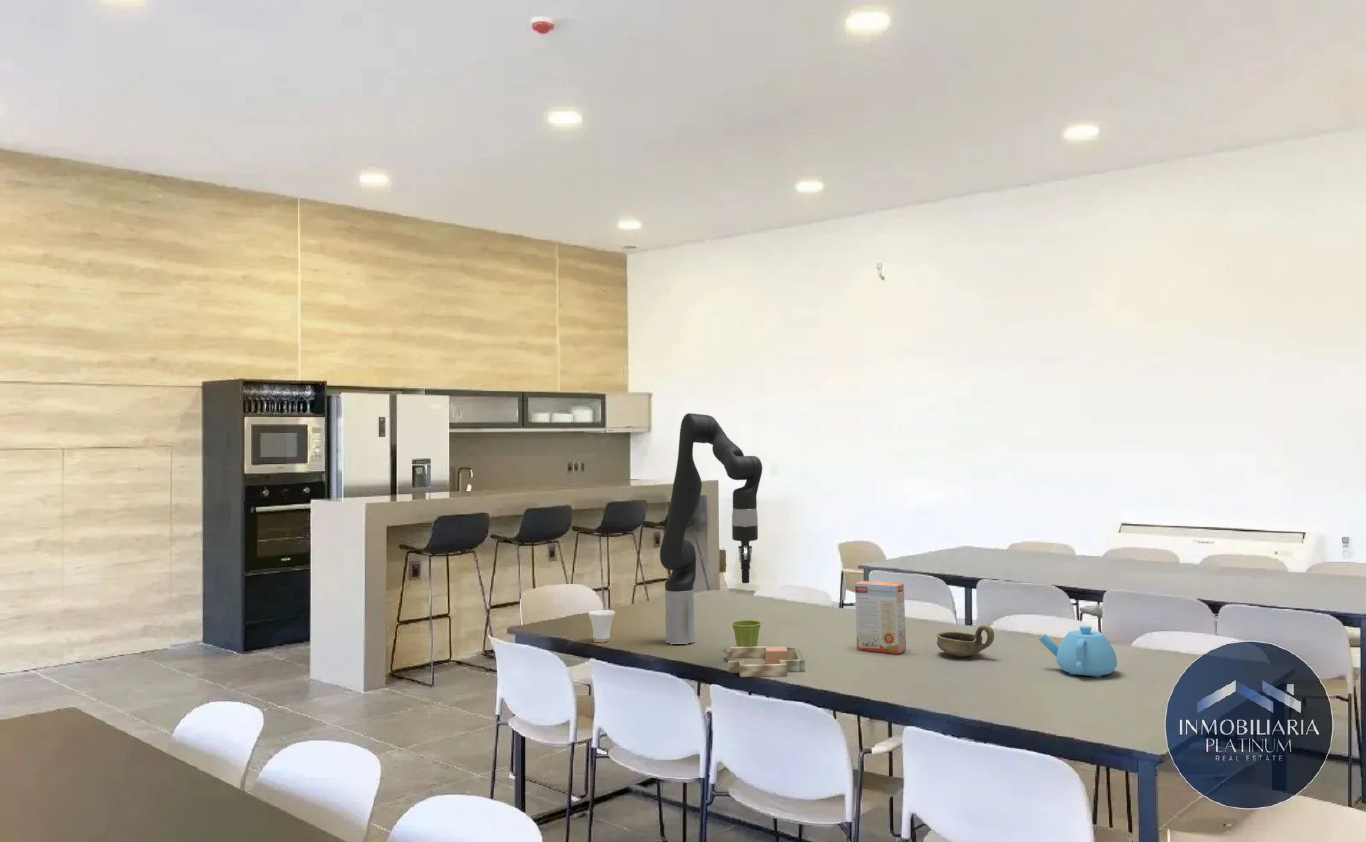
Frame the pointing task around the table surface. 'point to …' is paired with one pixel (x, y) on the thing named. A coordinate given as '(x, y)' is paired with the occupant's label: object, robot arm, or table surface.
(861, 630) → the cracker box
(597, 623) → the cup
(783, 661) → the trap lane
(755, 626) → the plant pot
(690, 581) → the robot arm
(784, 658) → the block
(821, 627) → the table surface
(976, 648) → the bowl
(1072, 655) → the teapot
